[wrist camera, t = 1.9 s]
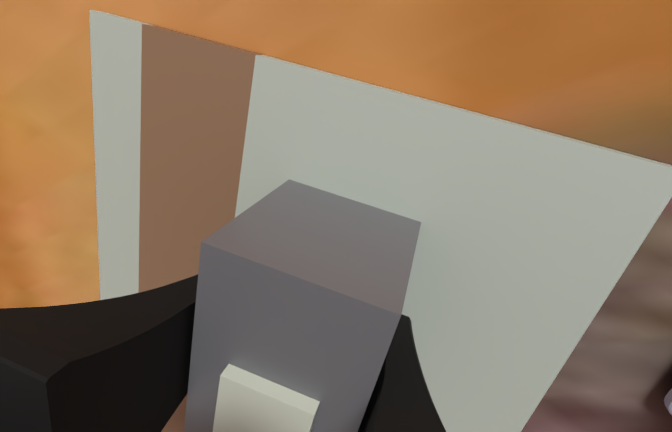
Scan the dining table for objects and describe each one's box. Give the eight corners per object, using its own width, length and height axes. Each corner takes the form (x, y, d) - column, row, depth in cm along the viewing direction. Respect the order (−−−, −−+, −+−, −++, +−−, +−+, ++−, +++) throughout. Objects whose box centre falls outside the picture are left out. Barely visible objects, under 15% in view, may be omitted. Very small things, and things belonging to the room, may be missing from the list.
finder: (421, 222, 12) (398, 327, 7) (364, 380, 15) (322, 530, 10) (289, 179, 13) (189, 249, 8) (259, 338, 16) (173, 459, 11)
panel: (675, 166, 10) (687, 172, 10) (424, 567, 19) (423, 582, 19) (104, 11, 13) (89, 9, 13) (113, 421, 22) (105, 430, 22)
